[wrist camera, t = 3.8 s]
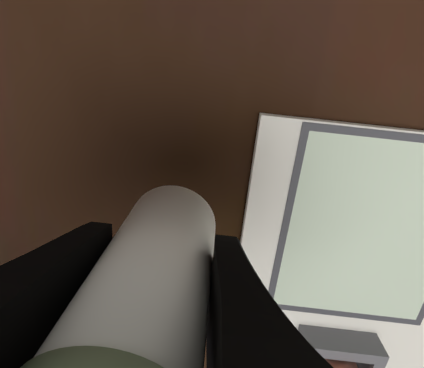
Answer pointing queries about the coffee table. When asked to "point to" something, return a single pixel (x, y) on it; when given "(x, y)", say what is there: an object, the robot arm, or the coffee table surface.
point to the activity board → (341, 235)
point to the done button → (341, 364)
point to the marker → (142, 292)
